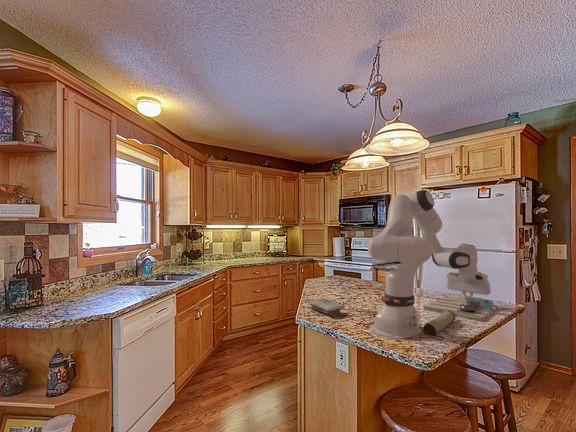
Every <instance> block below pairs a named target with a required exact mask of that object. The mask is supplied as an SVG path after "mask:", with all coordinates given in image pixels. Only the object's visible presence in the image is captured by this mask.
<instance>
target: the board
mask: <svg viewBox="0 0 576 432" xmlns="http://www.w3.org/2000/svg"><path fill="white" fill-rule="evenodd" d="M467 301H468V300H465V299H460V298H457V297H451V296H450V297H449V296H442V297H440V298H439V299H436V300H434V301H432V302H431V303H429V304H426V305H424V306H423V310H426V311H430V312H434V313H439V314H442V313H443V312H444V311H451V312H453V313H454V315H455V317H460V318H464V319H468V320H473V321H477V322H483V321H484V320H485V319H488V318H489V316H491V315H492V314H493V313H494V312H495V311H496V310H498V309H499V308H498V306H499V305H497V304H492V307H493V310H492V311H488V310H484V303H483V302H480V304H479V305H478V306H477V307H475V308H474V311H473V312H467V311H463V310H460V305H461V304H464V303H466V302H467Z"/></svg>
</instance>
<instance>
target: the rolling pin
mask: <svg viewBox="0 0 576 432" xmlns="http://www.w3.org/2000/svg"><path fill="white" fill-rule="evenodd" d="M454 321H456V316H455V315H454V313H453V312H451V311H444V312H443V313H440V314H439V315H438V316H437V317H436V318H433V320H430V321H427V322H425V323H423V328H422V332H423V334H424V335H429V336H433V337H434V336H436V335H437V334H438V333H439V332H441V331H442V330H444V329H445V328H446V327H448V326H449V325H450V324H451V323H453V322H454Z"/></svg>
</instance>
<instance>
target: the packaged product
mask: <svg viewBox="0 0 576 432" xmlns="http://www.w3.org/2000/svg"><path fill="white" fill-rule="evenodd" d="M307 303H308V304H310V305H311V309H312V310H315V311H317V312H320V313H323V314H325V315H327V316H339V315H340V314H341V312H340V311H341V310H345V305H344V304H340V303H338V302H335V301H333V300H329V299H326V298H324V297H321V298H317V299H316V298H315V299H311V300H308V301H307Z"/></svg>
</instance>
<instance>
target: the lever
mask: <svg viewBox="0 0 576 432" xmlns="http://www.w3.org/2000/svg"><path fill="white" fill-rule="evenodd" d="M480 303H481V302H477V301H471V300H468V301H467V302H466V303H464V304H461V305H460V310H463V311H467V312H473V311H474V308H475V307H477V306H478V305H479V304H480Z"/></svg>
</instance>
